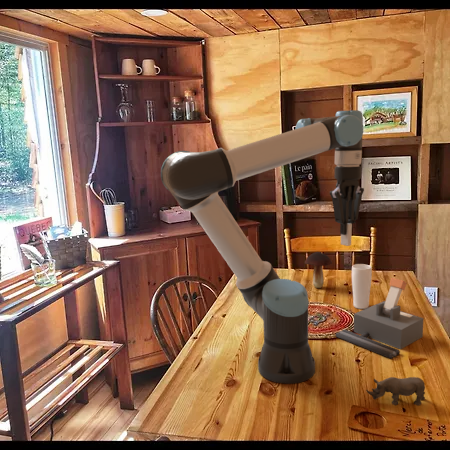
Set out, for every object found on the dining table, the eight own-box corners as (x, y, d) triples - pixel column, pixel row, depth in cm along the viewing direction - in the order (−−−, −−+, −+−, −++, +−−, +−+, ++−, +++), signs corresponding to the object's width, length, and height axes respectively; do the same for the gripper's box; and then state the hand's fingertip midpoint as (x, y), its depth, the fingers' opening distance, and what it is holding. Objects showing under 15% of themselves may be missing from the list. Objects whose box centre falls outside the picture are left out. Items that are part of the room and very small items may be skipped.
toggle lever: (391, 315, 133) (403, 280, 135) (379, 311, 136) (391, 277, 138) (394, 317, 135) (406, 283, 136) (383, 313, 138) (395, 280, 140)
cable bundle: (391, 359, 122) (391, 355, 121) (334, 336, 137) (334, 332, 137) (407, 350, 126) (407, 346, 126) (350, 329, 142) (350, 325, 141)
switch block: (400, 349, 127) (401, 318, 125) (353, 331, 140) (354, 303, 138) (422, 336, 134) (423, 307, 133) (376, 321, 147) (376, 293, 145)
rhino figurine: (363, 396, 106) (363, 373, 105) (422, 395, 105) (423, 372, 104) (368, 406, 102) (368, 382, 100) (429, 406, 101) (430, 382, 100)
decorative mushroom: (299, 286, 184) (299, 251, 181) (321, 281, 189) (321, 247, 186) (315, 294, 174) (315, 257, 171) (338, 289, 179) (338, 253, 176)
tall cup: (368, 303, 163) (369, 263, 160) (372, 310, 156) (373, 269, 153) (349, 303, 163) (350, 264, 160) (353, 310, 157) (353, 269, 154)
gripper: (343, 167, 122) (341, 250, 126) (372, 164, 129) (369, 243, 134) (322, 166, 128) (321, 246, 132) (351, 164, 135) (349, 239, 140)
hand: (345, 244), depth 133 cm, fingers closed
